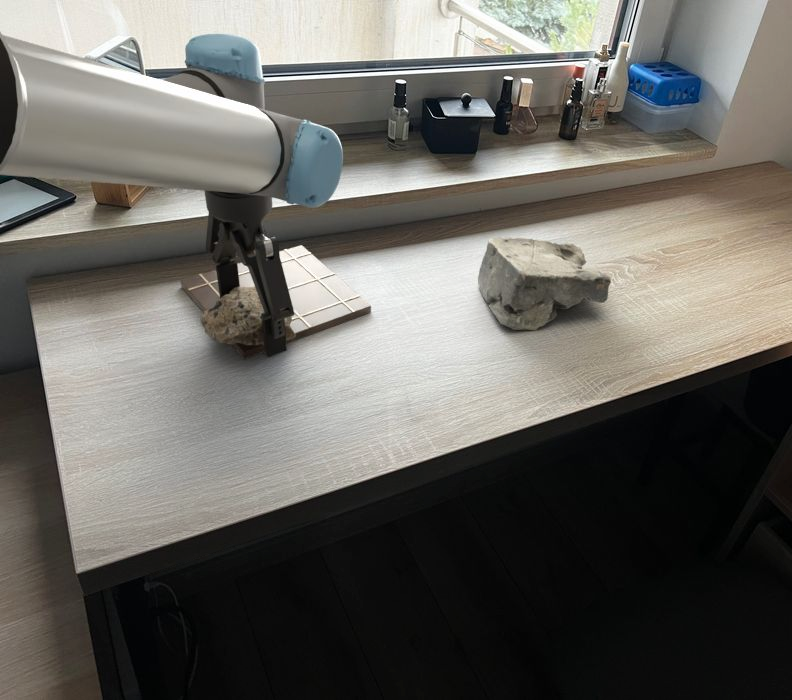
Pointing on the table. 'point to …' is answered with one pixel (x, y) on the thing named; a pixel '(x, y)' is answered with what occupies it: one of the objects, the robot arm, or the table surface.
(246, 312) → the rock
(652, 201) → the table surface
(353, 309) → the grid board
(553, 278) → the grey broken concrete chunk
